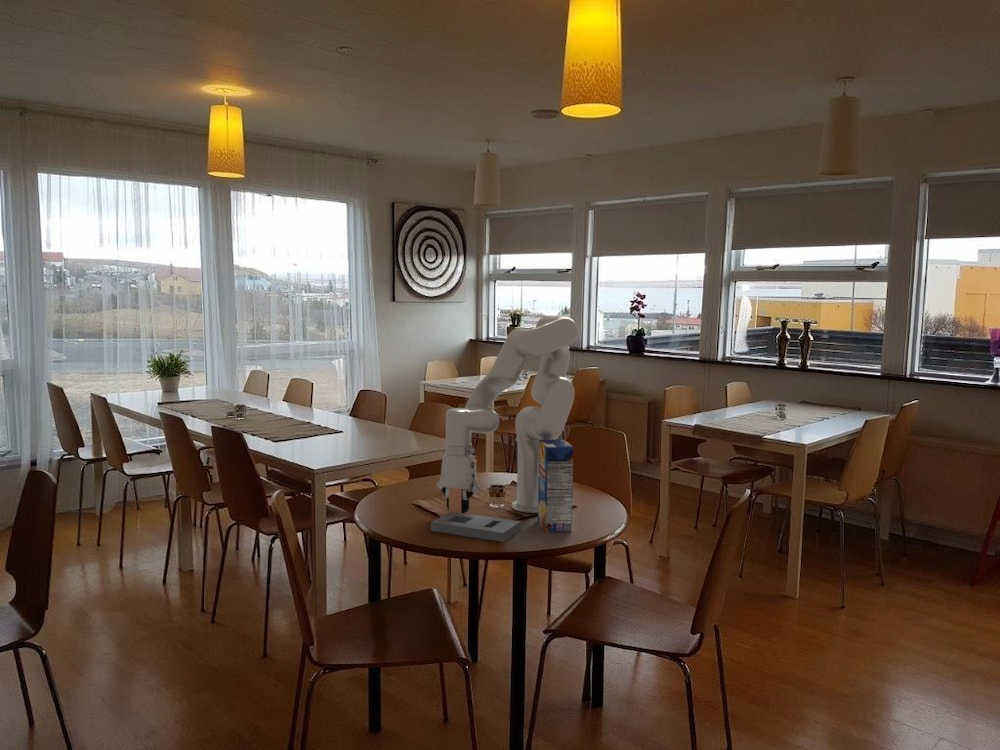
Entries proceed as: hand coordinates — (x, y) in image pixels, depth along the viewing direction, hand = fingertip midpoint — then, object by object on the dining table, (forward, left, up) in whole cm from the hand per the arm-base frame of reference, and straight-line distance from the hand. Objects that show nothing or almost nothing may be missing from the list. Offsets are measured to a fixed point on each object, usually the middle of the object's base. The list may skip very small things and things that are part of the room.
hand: (457, 510), depth 226 cm
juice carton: (-4, +29, -2) cm, 29 cm away
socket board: (+10, +11, -2) cm, 15 cm away
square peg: (0, 0, -2) cm, 2 cm away
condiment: (-34, -15, -2) cm, 37 cm away
